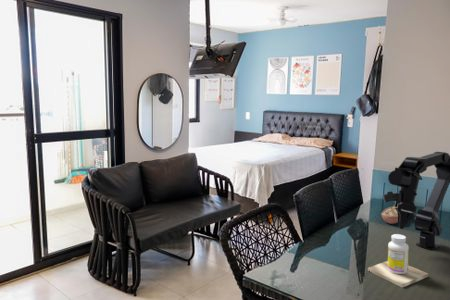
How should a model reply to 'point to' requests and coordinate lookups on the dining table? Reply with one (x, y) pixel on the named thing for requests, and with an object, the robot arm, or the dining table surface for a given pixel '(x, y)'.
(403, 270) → the supplement bottle
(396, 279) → the birch board
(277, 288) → the dining table surface
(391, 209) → the anatomical model
